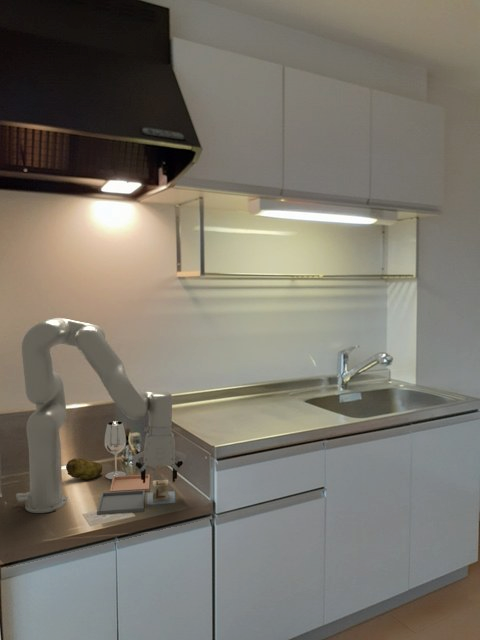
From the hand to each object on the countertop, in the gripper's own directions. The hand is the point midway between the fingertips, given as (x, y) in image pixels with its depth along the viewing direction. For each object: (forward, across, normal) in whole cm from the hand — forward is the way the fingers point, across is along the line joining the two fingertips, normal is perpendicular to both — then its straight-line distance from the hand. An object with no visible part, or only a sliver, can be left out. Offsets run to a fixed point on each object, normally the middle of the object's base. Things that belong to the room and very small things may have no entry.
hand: (159, 481), depth 165 cm
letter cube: (+6, +1, 0) cm, 6 cm away
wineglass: (+7, -16, +24) cm, 29 cm away
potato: (+7, -27, +22) cm, 36 cm away
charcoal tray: (+7, -12, -2) cm, 14 cm away
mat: (+6, +1, 0) cm, 6 cm away
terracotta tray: (+6, -10, +12) cm, 17 cm away
